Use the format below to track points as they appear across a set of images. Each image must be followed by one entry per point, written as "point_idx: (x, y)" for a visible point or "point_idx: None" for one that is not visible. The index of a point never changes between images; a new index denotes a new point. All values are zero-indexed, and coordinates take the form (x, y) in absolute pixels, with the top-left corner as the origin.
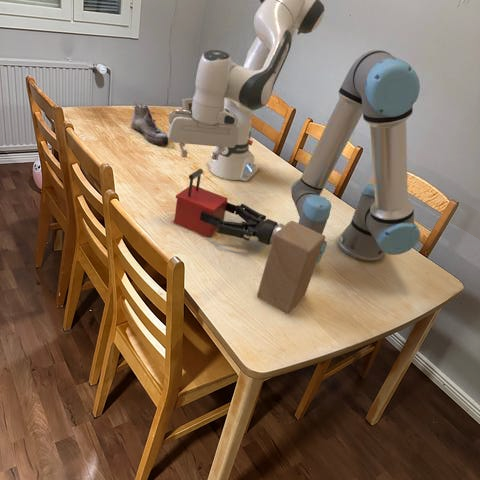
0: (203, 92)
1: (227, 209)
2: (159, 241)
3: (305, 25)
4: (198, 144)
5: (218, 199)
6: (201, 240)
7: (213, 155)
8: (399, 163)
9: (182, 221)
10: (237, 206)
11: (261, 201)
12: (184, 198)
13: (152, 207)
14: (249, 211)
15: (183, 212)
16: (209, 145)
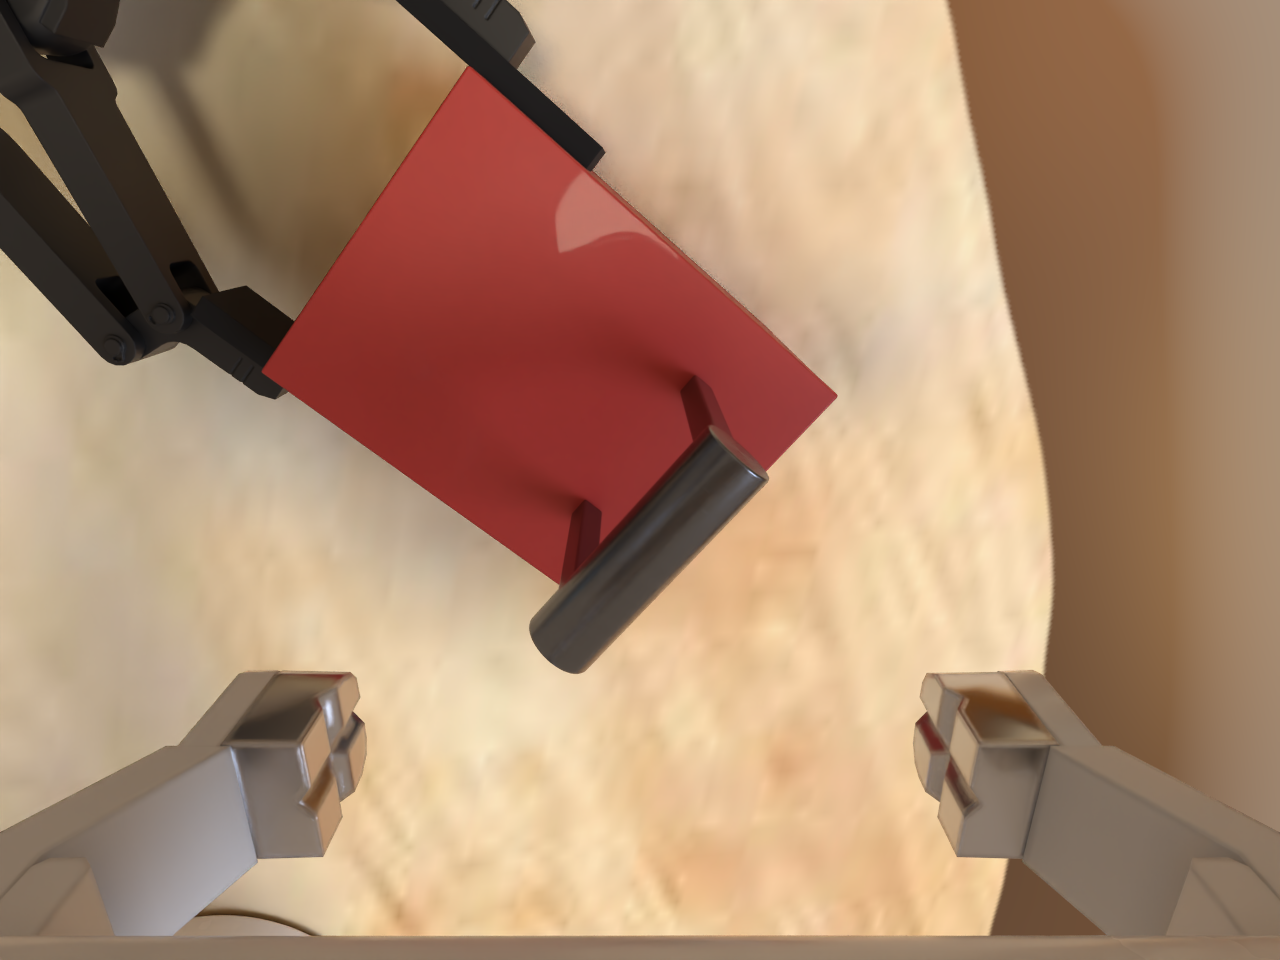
0: None
1: None
2: (946, 41)
3: None
4: (820, 939)
5: (375, 335)
6: (592, 58)
7: (317, 743)
8: None
9: (719, 285)
10: (175, 305)
11: (13, 665)
12: (761, 332)
13: (876, 536)
14: (48, 230)
15: (732, 298)
16: (387, 938)
